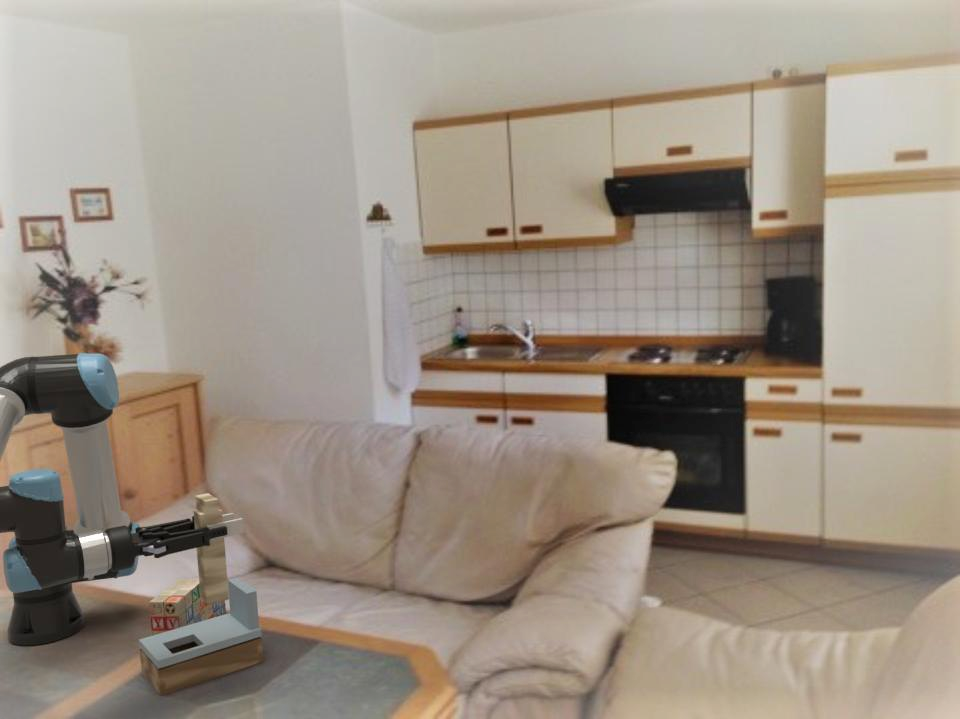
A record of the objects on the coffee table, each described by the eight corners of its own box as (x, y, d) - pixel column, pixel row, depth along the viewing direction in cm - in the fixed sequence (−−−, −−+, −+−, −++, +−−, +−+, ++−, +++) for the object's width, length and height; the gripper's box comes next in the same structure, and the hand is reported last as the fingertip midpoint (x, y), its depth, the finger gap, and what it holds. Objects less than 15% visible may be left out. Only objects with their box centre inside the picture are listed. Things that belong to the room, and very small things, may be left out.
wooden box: (142, 676, 165) (139, 648, 165) (240, 644, 177) (238, 619, 177) (161, 699, 156) (158, 670, 155) (263, 664, 168) (261, 638, 167)
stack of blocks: (200, 615, 194) (196, 563, 193) (226, 615, 193) (222, 563, 192) (153, 658, 173) (148, 601, 172) (182, 659, 172) (177, 601, 171)
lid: (139, 646, 165) (135, 602, 164) (238, 617, 177) (235, 576, 176) (158, 668, 155) (154, 621, 154) (261, 636, 167) (258, 592, 166)
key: (199, 597, 159) (191, 496, 157) (220, 591, 162) (212, 492, 160) (209, 606, 155) (200, 502, 153) (230, 600, 157) (222, 498, 155)
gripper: (97, 559, 154) (224, 531, 167) (120, 585, 140) (256, 553, 153) (93, 519, 153) (221, 494, 166) (116, 541, 139) (253, 512, 153)
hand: (237, 522), depth 160 cm, fingers closed on key, 4 cm apart
